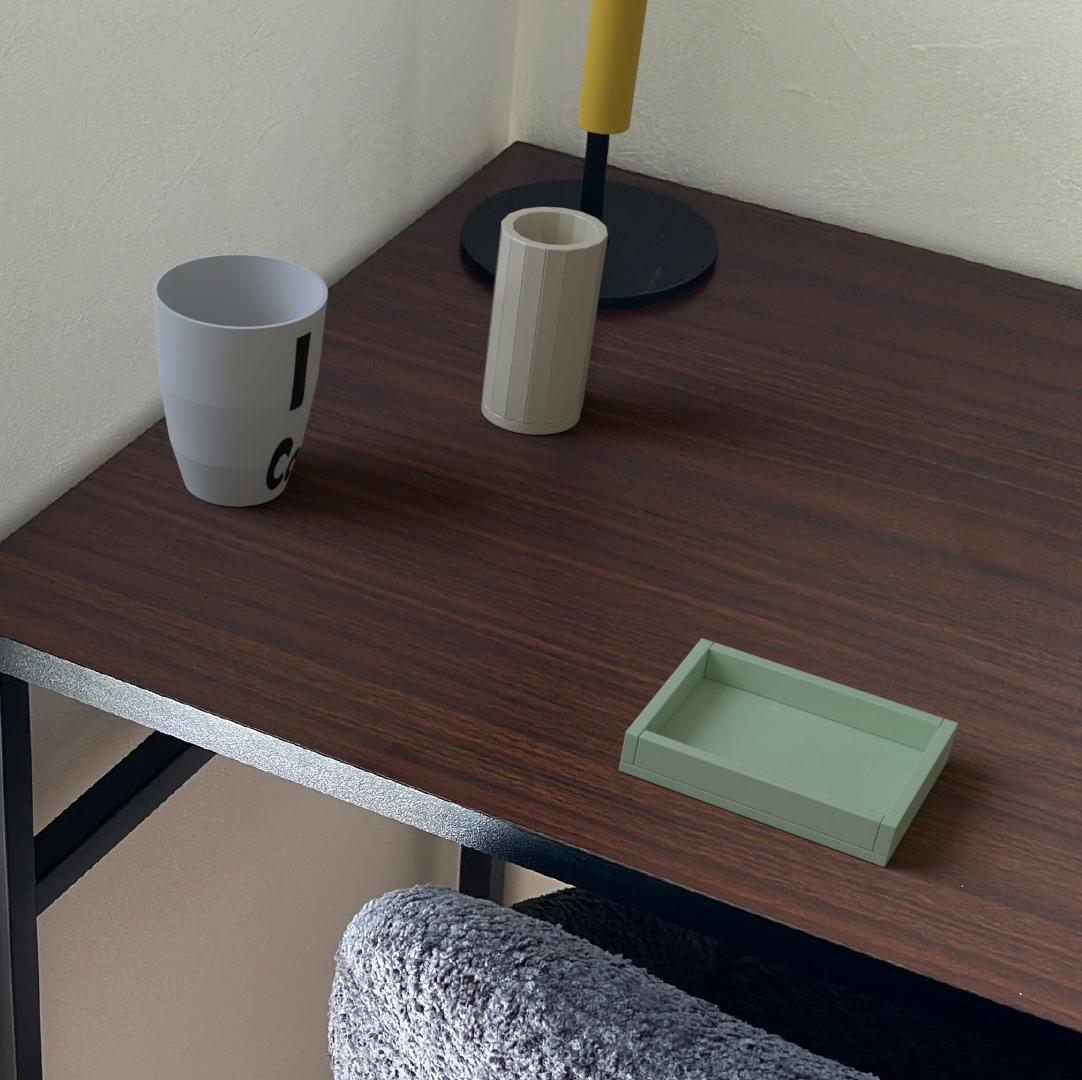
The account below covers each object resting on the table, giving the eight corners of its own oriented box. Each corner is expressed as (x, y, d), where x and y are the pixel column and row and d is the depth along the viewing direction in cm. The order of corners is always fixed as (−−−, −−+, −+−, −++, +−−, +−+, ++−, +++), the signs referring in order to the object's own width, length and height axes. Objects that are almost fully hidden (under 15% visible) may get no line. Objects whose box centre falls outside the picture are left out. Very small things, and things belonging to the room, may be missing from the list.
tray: (947, 761, 86) (959, 722, 85) (884, 868, 81) (896, 827, 79) (693, 675, 91) (701, 637, 89) (618, 770, 85) (625, 731, 84)
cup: (303, 531, 99) (314, 336, 93) (136, 512, 100) (136, 318, 94) (326, 450, 105) (338, 262, 99) (169, 433, 106) (171, 245, 100)
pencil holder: (577, 390, 111) (603, 209, 105) (583, 437, 107) (611, 251, 101) (479, 385, 111) (499, 204, 105) (482, 432, 107) (503, 246, 101)
